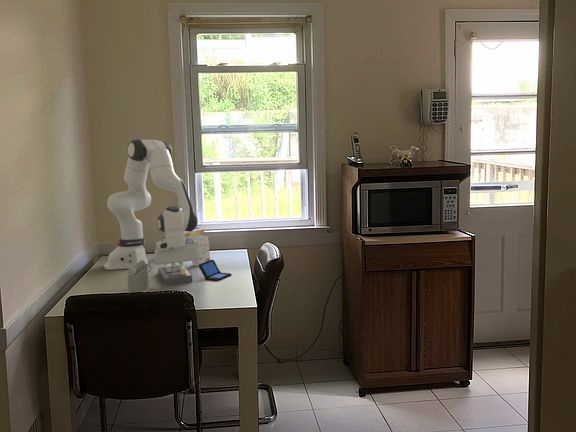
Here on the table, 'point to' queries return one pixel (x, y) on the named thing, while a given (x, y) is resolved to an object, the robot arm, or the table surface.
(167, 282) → the switch panel
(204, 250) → the ink cartridge box
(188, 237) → the gum box
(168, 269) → the switch tab
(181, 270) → the switch tab
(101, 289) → the table surface
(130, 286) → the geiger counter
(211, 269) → the handheld game console
